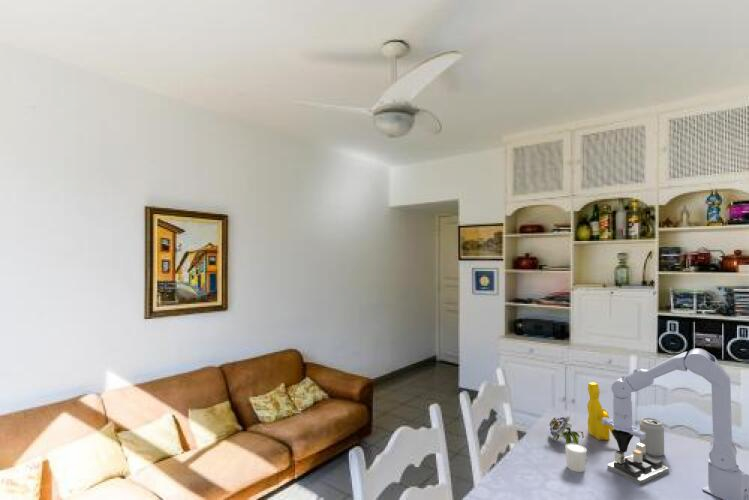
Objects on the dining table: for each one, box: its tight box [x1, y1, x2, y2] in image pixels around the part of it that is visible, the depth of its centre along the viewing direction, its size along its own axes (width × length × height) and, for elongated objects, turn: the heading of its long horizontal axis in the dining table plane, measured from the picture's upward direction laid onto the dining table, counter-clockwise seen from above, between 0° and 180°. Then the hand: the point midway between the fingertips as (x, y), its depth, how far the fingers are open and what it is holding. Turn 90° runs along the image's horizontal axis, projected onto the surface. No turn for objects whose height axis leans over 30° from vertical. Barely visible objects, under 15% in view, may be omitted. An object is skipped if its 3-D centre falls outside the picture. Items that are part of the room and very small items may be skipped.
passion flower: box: [549, 416, 585, 444], centre depth 160 cm, size 11×11×12 cm
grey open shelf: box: [607, 442, 670, 486], centre depth 139 cm, size 11×16×6 cm
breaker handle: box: [632, 449, 643, 463], centre depth 139 cm, size 2×2×3 cm
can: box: [639, 417, 665, 457], centre depth 151 cm, size 8×8×12 cm
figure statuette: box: [586, 382, 616, 441], centre depth 163 cm, size 18×8×22 cm, turn 6°
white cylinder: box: [564, 442, 588, 473], centre depth 141 cm, size 7×7×7 cm
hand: (623, 451), depth 143 cm, fingers closed
